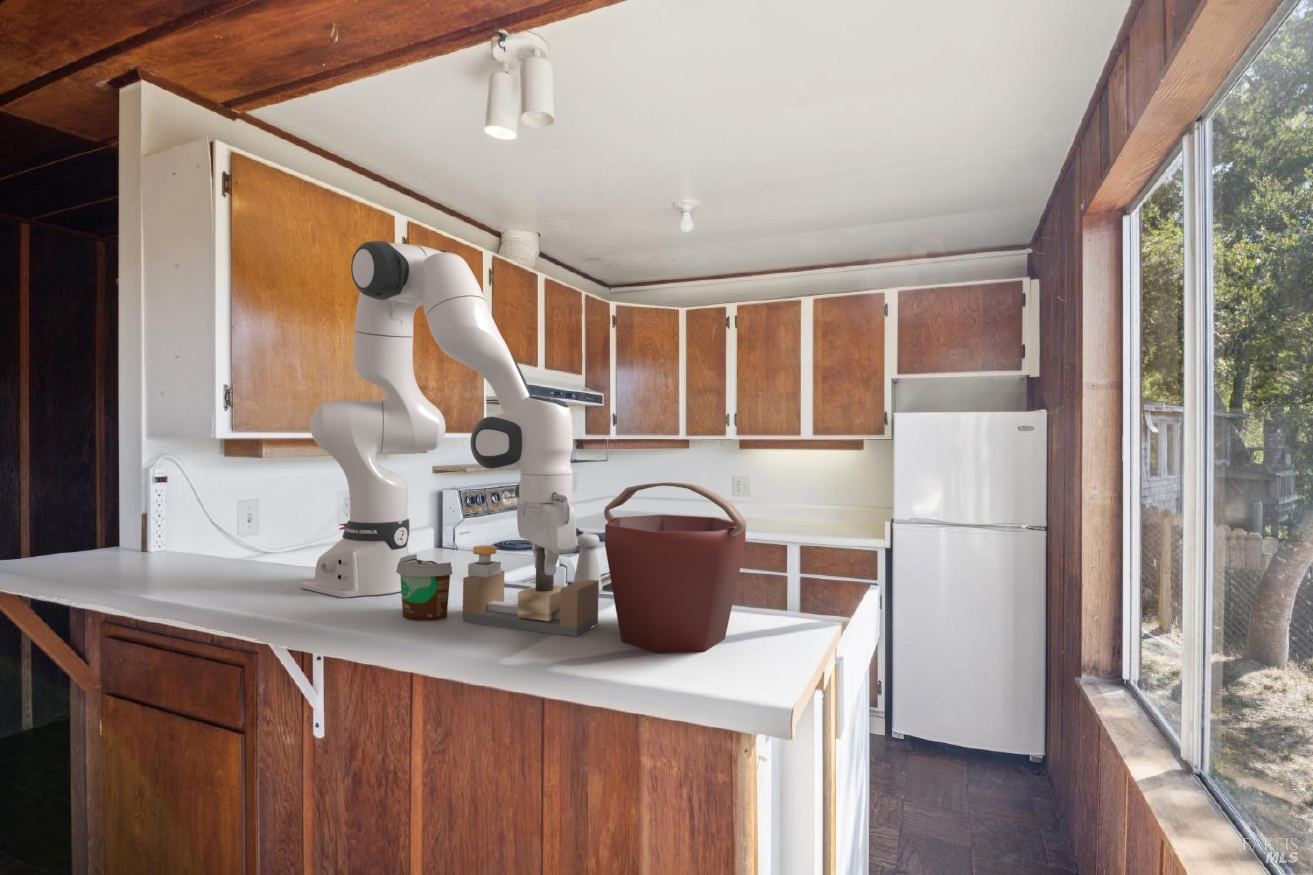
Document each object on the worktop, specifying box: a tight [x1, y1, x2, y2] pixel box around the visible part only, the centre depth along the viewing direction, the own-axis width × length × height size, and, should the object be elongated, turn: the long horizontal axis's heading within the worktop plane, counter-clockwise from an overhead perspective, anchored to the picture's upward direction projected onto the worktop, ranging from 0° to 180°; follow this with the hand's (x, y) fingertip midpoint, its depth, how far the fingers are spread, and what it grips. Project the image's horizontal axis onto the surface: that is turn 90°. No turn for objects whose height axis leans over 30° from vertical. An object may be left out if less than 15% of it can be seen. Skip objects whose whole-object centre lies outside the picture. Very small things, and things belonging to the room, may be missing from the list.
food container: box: [396, 553, 453, 622], centre depth 114 cm, size 12×6×10 cm, turn 50°
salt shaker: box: [573, 533, 603, 599], centre depth 128 cm, size 6×6×13 cm
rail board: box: [462, 560, 599, 638], centre depth 112 cm, size 22×8×10 cm, turn 70°
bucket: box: [603, 481, 747, 654], centre depth 106 cm, size 24×22×25 cm
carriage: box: [517, 547, 567, 621], centre depth 111 cm, size 6×7×11 cm
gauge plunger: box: [472, 544, 497, 565], centre depth 115 cm, size 4×4×3 cm
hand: (544, 571), depth 111 cm, fingers open, 3 cm apart
